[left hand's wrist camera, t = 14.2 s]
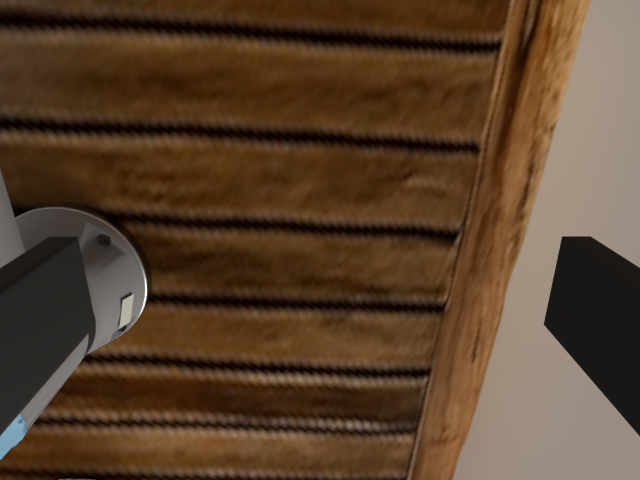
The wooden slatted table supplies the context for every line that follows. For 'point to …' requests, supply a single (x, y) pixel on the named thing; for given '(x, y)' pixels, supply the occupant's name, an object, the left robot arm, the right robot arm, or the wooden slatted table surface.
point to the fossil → (76, 479)
